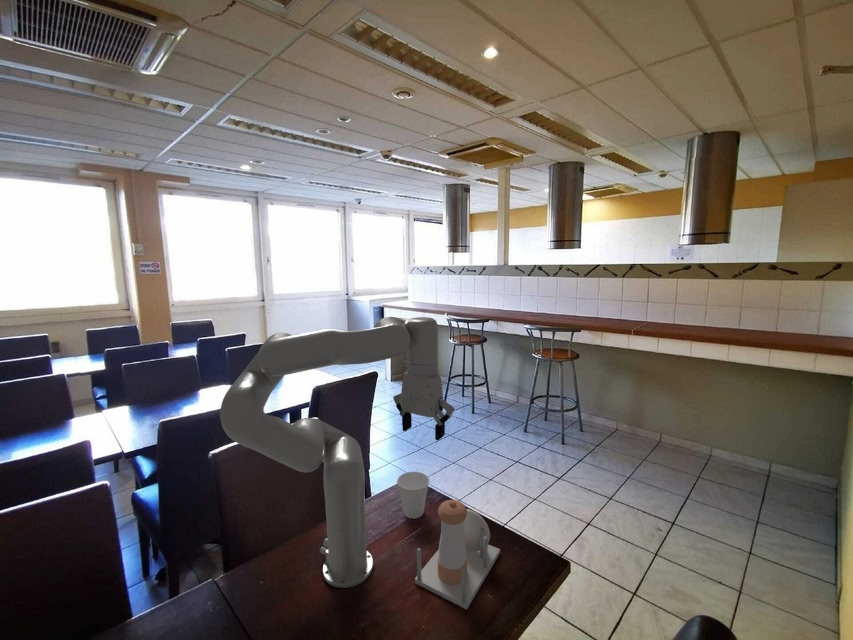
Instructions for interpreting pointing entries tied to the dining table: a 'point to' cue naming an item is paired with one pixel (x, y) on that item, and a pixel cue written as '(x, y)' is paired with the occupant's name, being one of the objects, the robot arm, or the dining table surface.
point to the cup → (413, 493)
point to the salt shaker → (452, 542)
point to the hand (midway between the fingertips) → (423, 433)
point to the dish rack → (477, 568)
